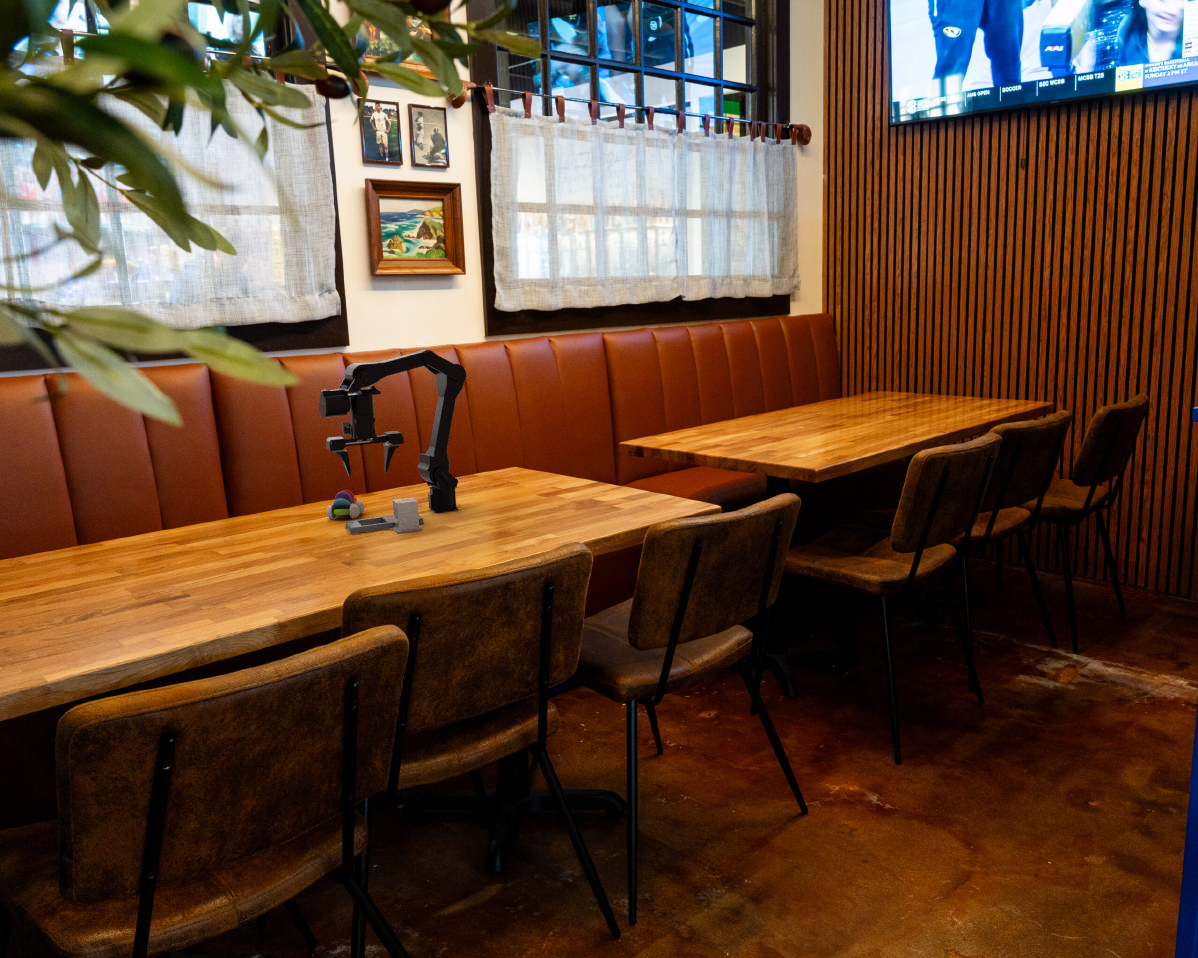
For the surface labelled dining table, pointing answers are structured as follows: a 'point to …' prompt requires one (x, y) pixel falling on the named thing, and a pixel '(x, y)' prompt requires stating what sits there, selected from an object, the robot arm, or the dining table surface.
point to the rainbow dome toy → (345, 505)
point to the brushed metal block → (406, 514)
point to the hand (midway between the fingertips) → (368, 474)
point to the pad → (405, 531)
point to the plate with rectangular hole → (372, 524)
